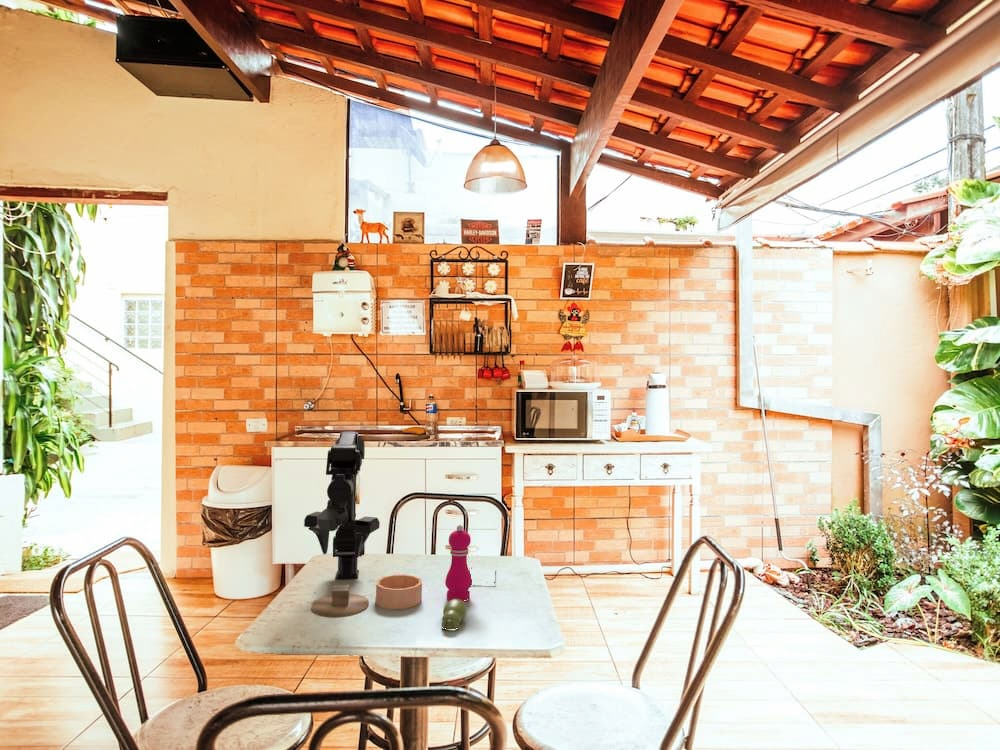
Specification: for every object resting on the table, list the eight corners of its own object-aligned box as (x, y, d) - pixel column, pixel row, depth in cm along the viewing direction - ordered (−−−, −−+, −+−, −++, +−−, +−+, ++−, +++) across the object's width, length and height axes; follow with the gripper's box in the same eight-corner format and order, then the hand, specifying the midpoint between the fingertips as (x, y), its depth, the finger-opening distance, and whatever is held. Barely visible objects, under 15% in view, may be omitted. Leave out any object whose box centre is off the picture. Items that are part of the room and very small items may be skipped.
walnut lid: (315, 597, 163) (315, 579, 163) (369, 596, 165) (370, 577, 165) (307, 619, 149) (308, 599, 149) (367, 617, 151) (368, 597, 151)
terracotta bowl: (376, 593, 166) (377, 575, 166) (420, 591, 168) (420, 573, 168) (375, 610, 155) (375, 590, 155) (422, 608, 157) (422, 588, 157)
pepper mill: (439, 599, 163) (441, 525, 163) (453, 591, 169) (455, 520, 169) (462, 605, 159) (464, 529, 160) (476, 596, 166) (478, 524, 166)
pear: (469, 596, 151) (459, 617, 141) (469, 615, 152) (459, 638, 142) (447, 593, 152) (436, 615, 142) (447, 613, 153) (436, 636, 143)
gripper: (291, 498, 149) (290, 561, 149) (359, 504, 144) (358, 569, 144) (317, 489, 159) (315, 548, 160) (381, 495, 154) (379, 556, 155)
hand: (340, 555), depth 154 cm, fingers open, 9 cm apart
